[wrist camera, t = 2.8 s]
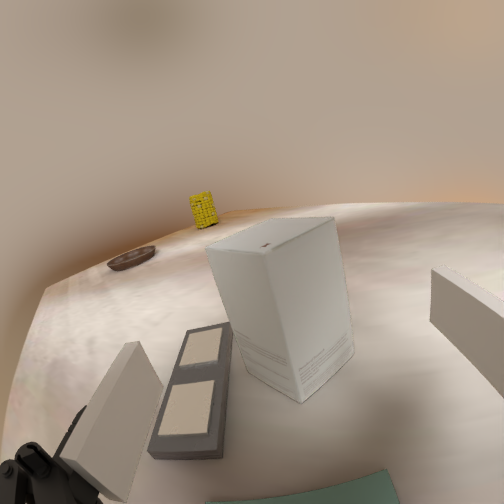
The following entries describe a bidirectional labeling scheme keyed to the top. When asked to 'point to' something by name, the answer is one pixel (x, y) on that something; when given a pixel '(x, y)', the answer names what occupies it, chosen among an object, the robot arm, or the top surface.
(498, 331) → the robot arm
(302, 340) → the supplement box
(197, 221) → the food
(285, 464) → the top surface
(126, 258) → the plant saucer
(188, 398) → the label plate
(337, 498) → the mat
